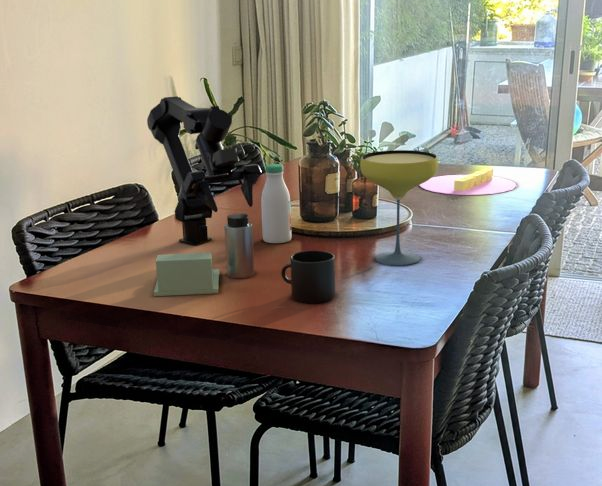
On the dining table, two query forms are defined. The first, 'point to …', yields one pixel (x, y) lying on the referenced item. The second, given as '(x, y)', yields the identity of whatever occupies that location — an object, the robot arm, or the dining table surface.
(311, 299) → the mug
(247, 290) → the dining table surface
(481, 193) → the platter
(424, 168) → the cocktail glass
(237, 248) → the steel travel tumbler
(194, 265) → the pale green butter dish
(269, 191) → the milk bottle
